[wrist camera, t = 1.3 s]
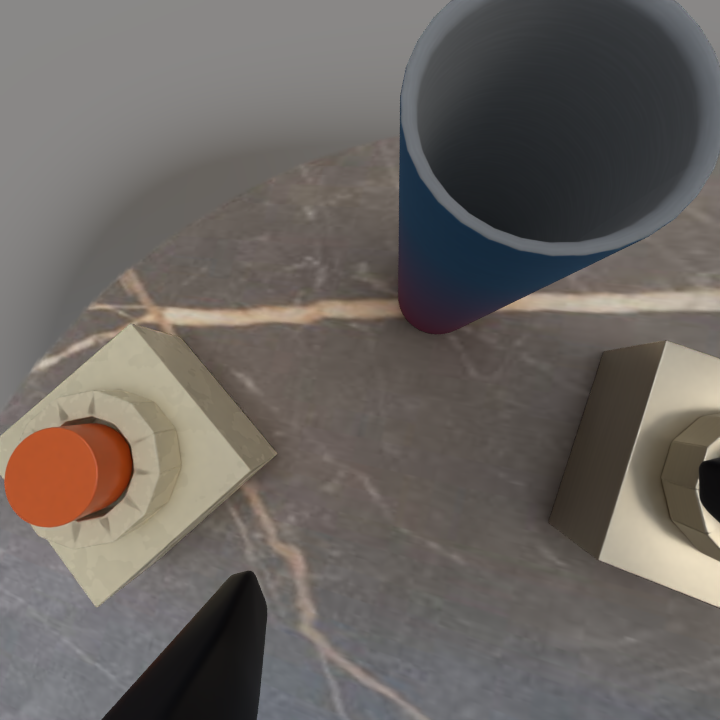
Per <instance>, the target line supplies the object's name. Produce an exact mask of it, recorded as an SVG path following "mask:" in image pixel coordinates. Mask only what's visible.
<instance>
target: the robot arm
mask: <svg viewBox="0 0 720 720" xmlns="http://www.w3.org/2000/svg"><path fill="white" fill-rule="evenodd" d="M699 497H700V501H701V503H702V505H703V507H704V508H705V509H706V510H707V511H708V513H709V514H711V515H712V516H713V517H714V518H715V519H716V520H717V521H718V522H719V523H720V457H718V458H714V459H710V460H706V461H703V462H702V463H701V464H700V466H699ZM266 623H267V605H266V601H265V598H264V596H263V593H262V591H261V588H260V585H259V583H258V580H257V578H256V576H255V574H254V573H253V572H252V571H246V572H241V573H237V574H234V575H232V576H230V577H229V578H228V579H227V581H226V582H225V583H224V584H223V585H222V586H221V587H220V588H219V589H218V591H217V592H216V593H215V594H214V595H213V596H212V597H211V598H210V599H209V601H208V602H207V603H206V604H205V605H204V606H203V607H202V608H201V609H200V611H199V612H198V613H197V614H196V615H195V616H194V617H193V618H192V619H191V621H190V622H189V623H188V624H187V625H186V626H185V627H184V628H183V630H182V631H181V632H180V633H179V634H178V635H177V636H176V637H175V638H174V640H173V641H172V642H171V643H170V644H169V645H168V646H167V647H166V648H165V650H164V651H163V652H162V653H161V654H160V655H159V656H158V657H157V658H156V660H155V661H154V662H153V663H152V664H151V665H150V666H149V667H148V668H147V670H146V671H145V672H144V673H143V674H142V675H141V676H140V677H139V678H138V680H137V681H136V682H135V683H134V684H133V685H132V686H131V687H130V689H129V690H128V691H127V692H126V693H125V694H124V695H123V696H122V697H121V699H120V700H119V701H118V702H117V703H116V704H115V705H114V706H113V707H112V709H111V710H110V711H109V712H108V713H107V714H106V715H105V716H104V717H103V719H102V720H257V713H258V705H259V696H260V686H261V676H262V665H263V655H264V644H265V634H266Z"/></svg>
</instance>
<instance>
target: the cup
mask: <svg viewBox="0 0 720 720" xmlns="http://www.w3.org/2000/svg"><path fill="white" fill-rule="evenodd" d="M719 153H720V65H719V62H718V59H717V57H716V53H715V51H714V50H713V48H712V46H711V44H710V43H709V41H708V40H707V38H706V36H705V34H704V33H703V31H702V29H701V28H700V26H699V25H698V24H697V23H696V22H695V21H694V19H693V18H692V17H691V16H690V15H689V14H688V13H687V12H686V11H685V9H684V8H682V6H681V5H680V4H679V3H677V2H676V1H675V0H451V1H450V2H449V3H448V4H447V5H446V6H445V7H444V8H443V9H442V10H441V11H440V12H439V13H438V14H437V15H436V16H435V17H434V18H433V19H432V21H431V22H430V24H429V25H428V27H427V28H426V29H425V31H424V32H423V34H422V35H421V37H420V38H419V39H418V41H417V43H416V45H415V48H414V50H413V53H412V55H411V57H410V59H409V62H408V64H407V67H406V70H405V75H404V80H403V85H402V90H401V95H400V171H399V264H398V301H399V305H400V309H401V311H402V313H403V315H404V316H405V318H406V319H407V321H408V322H409V323H411V324H412V325H413V326H414V327H416V328H417V329H419V330H421V331H424V332H426V333H431V334H445V333H450V332H452V331H454V330H457V329H459V328H461V327H463V326H465V325H467V324H469V323H471V322H473V321H475V320H477V319H480V318H482V317H484V316H486V315H488V314H490V313H492V312H494V311H496V310H498V309H500V308H502V307H504V306H506V305H508V304H510V303H513V302H515V301H517V300H519V299H521V298H523V297H525V296H527V295H529V294H531V293H533V292H535V291H537V290H539V289H541V288H543V287H546V286H548V285H550V284H552V283H554V282H556V281H558V280H560V279H562V278H564V277H566V276H568V275H570V274H572V273H574V272H576V271H579V270H581V269H583V268H585V267H587V266H589V265H591V264H593V263H595V262H597V261H599V260H601V259H603V258H605V257H607V256H609V255H612V254H614V253H616V252H618V251H620V250H622V249H624V248H626V247H628V246H630V245H632V244H634V243H636V242H638V241H640V240H642V239H645V238H647V237H649V236H650V235H652V234H653V233H654V232H656V231H657V230H659V229H660V228H662V227H663V226H665V225H666V224H668V223H669V222H671V221H672V220H674V219H675V218H676V217H677V216H678V215H679V214H680V213H681V212H682V211H683V210H684V209H685V208H686V207H687V206H688V205H689V204H690V203H691V202H692V201H693V199H694V198H695V197H696V196H697V195H698V194H699V192H700V191H701V189H702V187H703V186H704V184H705V182H706V181H707V179H708V178H709V176H710V174H711V173H712V171H713V170H714V168H715V165H716V162H717V159H718V156H719Z"/></svg>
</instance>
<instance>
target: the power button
mask: <svg viewBox="0 0 720 720" xmlns="http://www.w3.org/2000/svg"><path fill="white" fill-rule="evenodd" d="M131 473H132V456H131V451H130V449H129V446H128V444H127V442H126V441H125V439H124V438H123V437H122V436H121V434H119V433H118V432H117V431H116V430H114V429H113V428H111V427H109V426H106V425H103V424H98V423H87V424H78V425H69V426H60V427H51V428H45V429H42V430H39V431H37V432H34V433H33V434H31V435H29V436H28V437H26V438H25V439H24V440H23V441H22V442H21V443H20V444H19V445H18V446H17V447H16V448H15V450H14V451H13V453H12V455H11V456H10V459H9V461H8V464H7V467H6V471H5V479H4V483H5V492H6V496H7V499H8V501H9V503H10V505H11V507H12V509H13V510H14V511H15V513H16V514H17V515H18V516H19V517H20V518H21V519H23V520H24V521H26V522H28V523H30V524H32V525H35V526H38V527H47V528H52V527H58V526H62V525H65V524H67V523H70V522H72V521H74V520H77V519H79V518H81V517H84V516H86V515H89V514H91V513H93V512H96V511H98V510H100V509H103V508H105V507H107V506H109V505H110V504H112V503H113V502H115V501H116V500H117V499H118V498H119V497H120V496H121V494H122V493H123V492H124V490H125V489H126V487H127V485H128V483H129V480H130V477H131Z"/></svg>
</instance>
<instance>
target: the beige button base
mask: <svg viewBox="0 0 720 720" xmlns="http://www.w3.org/2000/svg"><path fill="white" fill-rule="evenodd" d="M718 457H720V358H717V357H714V356H711V355H708V354H705V353H702V352H699V351H696V350H694V349H691V348H688V347H685V346H682V345H679V344H676V343H673V342H670V341H667V340H665V341H660V342H654V343H648V344H643V345H637V346H632V347H626V348H620V349H615V350H609V351H604V352H603V355H602V358H601V362H600V365H599V368H598V371H597V374H596V377H595V380H594V383H593V386H592V389H591V392H590V395H589V399H588V402H587V405H586V408H585V411H584V414H583V417H582V420H581V423H580V426H579V429H578V433H577V436H576V439H575V442H574V445H573V448H572V451H571V454H570V457H569V460H568V463H567V466H566V470H565V473H564V476H563V479H562V482H561V485H560V488H559V491H558V494H557V497H556V500H555V504H554V507H553V510H552V513H551V516H550V519H549V524H551V525H552V526H553V527H555V528H556V529H557V530H559V531H560V532H561V533H563V534H564V535H565V536H567V537H568V538H569V539H571V540H572V541H573V542H575V543H576V544H577V545H578V546H580V547H581V548H582V549H584V550H585V551H586V552H588V553H589V554H590V555H592V556H593V557H594V558H596V559H597V560H598V561H601V562H603V563H606V564H608V565H611V566H613V567H616V568H618V569H621V570H624V571H626V572H629V573H631V574H634V575H636V576H639V577H641V578H644V579H646V580H649V581H651V582H654V583H656V584H659V585H662V586H664V587H667V588H669V589H672V590H674V591H677V592H679V593H682V594H684V595H687V596H689V597H692V598H695V599H697V600H700V601H702V602H705V603H707V604H710V605H712V606H715V607H717V608H720V523H719V522H718V521H717V520H716V519H715V518H714V517H713V516H712V515H711V514H709V513H708V511H707V510H706V509H705V508H704V507H703V505H702V503H701V501H700V497H699V466H700V464H701V463H702V462H703V461H706V460H710V459H714V458H718Z"/></svg>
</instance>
